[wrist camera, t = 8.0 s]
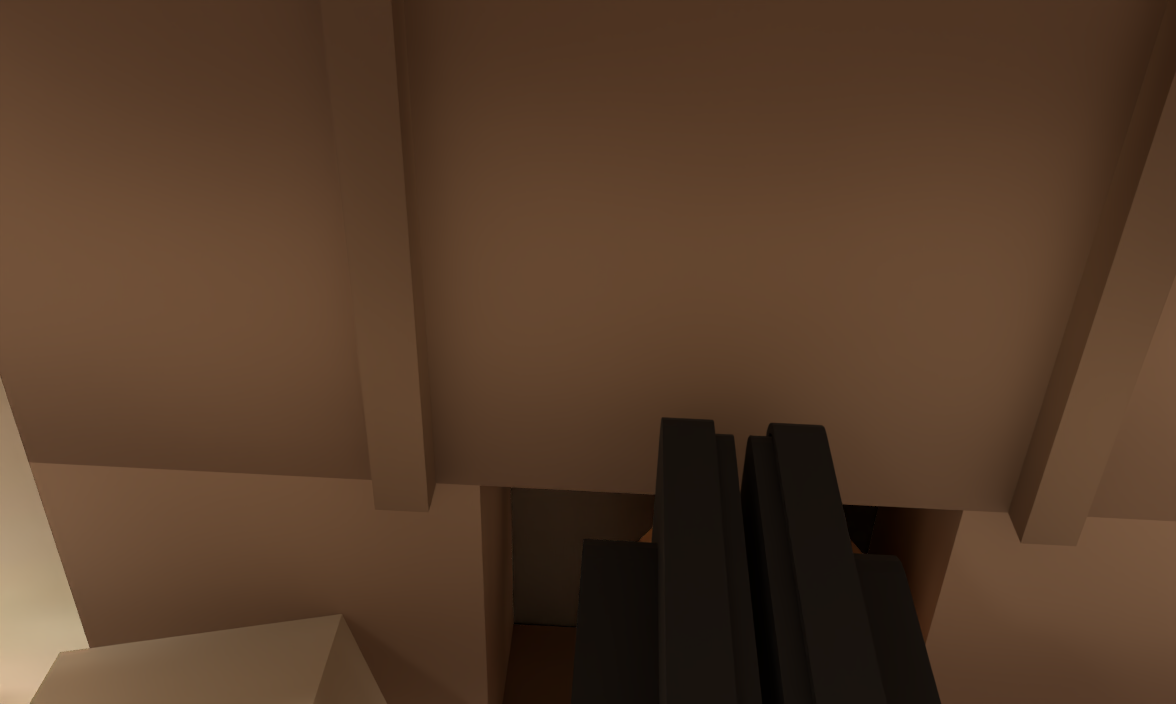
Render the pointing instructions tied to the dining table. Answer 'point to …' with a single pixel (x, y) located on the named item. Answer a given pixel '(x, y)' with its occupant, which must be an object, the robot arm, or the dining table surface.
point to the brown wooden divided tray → (594, 307)
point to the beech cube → (220, 668)
